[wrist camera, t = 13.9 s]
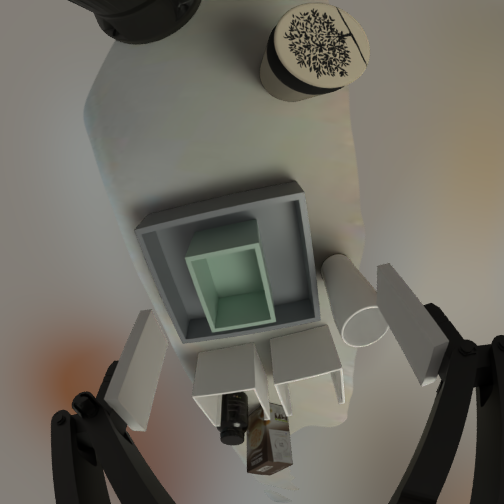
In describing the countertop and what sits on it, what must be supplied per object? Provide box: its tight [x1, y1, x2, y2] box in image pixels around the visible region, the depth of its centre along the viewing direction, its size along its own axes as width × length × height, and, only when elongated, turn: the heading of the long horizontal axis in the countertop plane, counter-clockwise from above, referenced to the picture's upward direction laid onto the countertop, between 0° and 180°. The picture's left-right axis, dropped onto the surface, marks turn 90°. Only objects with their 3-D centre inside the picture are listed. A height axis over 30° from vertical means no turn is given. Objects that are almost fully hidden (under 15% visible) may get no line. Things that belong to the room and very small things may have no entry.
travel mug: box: [260, 3, 370, 102], centre depth 25 cm, size 8×8×18 cm
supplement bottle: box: [217, 392, 249, 445], centre depth 55 cm, size 7×7×12 cm
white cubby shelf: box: [192, 325, 345, 427], centre depth 50 cm, size 25×11×11 cm, turn 105°
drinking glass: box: [321, 254, 389, 347], centre depth 39 cm, size 7×7×15 cm
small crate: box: [185, 219, 276, 332], centre depth 40 cm, size 12×9×8 cm
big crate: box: [134, 181, 321, 344], centre depth 42 cm, size 20×22×6 cm
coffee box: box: [247, 403, 293, 475], centre depth 57 cm, size 9×6×16 cm
